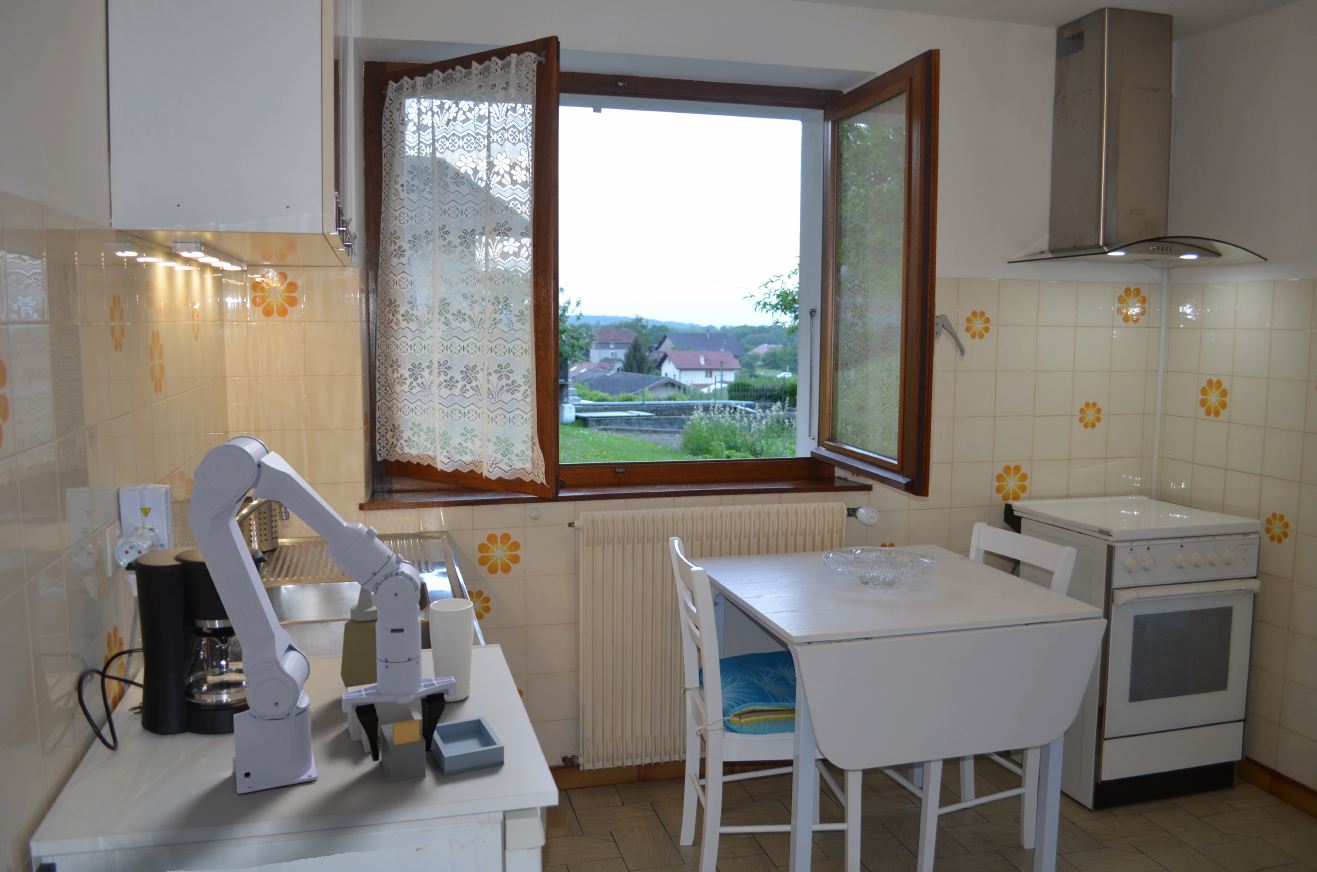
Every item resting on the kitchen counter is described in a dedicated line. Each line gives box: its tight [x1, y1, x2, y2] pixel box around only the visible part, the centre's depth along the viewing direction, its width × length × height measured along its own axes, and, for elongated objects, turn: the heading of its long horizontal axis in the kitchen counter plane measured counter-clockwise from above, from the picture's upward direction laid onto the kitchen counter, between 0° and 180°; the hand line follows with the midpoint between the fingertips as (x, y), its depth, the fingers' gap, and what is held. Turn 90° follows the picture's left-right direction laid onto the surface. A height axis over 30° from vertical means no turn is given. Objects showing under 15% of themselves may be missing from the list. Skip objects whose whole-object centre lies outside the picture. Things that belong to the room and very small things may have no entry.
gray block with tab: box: [380, 719, 427, 785], centre depth 122 cm, size 7×4×8 cm, turn 26°
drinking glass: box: [428, 597, 475, 703], centre depth 146 cm, size 7×7×15 cm
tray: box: [431, 715, 505, 776], centre depth 127 cm, size 8×10×2 cm
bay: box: [346, 683, 422, 754], centre depth 133 cm, size 10×10×6 cm
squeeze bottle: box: [340, 585, 377, 691], centre depth 146 cm, size 8×8×18 cm
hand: (401, 753), depth 124 cm, fingers open, 6 cm apart
